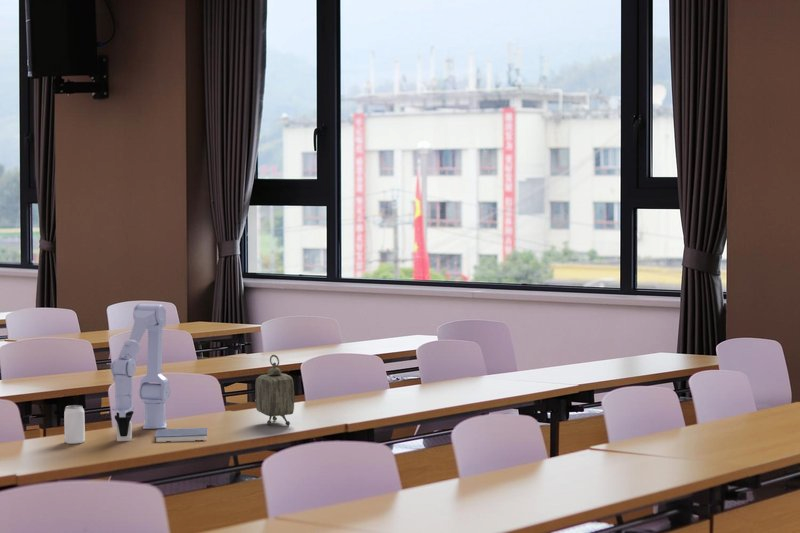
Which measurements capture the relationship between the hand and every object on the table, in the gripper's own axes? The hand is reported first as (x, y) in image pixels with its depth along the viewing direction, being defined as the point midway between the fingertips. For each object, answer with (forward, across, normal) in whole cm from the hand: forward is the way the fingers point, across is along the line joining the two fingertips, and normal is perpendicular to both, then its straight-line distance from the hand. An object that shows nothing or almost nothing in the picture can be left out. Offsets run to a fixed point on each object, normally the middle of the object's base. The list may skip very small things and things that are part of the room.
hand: (124, 434), depth 395 cm
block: (+2, 0, 0) cm, 2 cm away
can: (+2, +2, -16) cm, 16 cm away
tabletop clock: (+2, -18, +51) cm, 54 cm away
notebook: (+2, 0, +19) cm, 19 cm away
